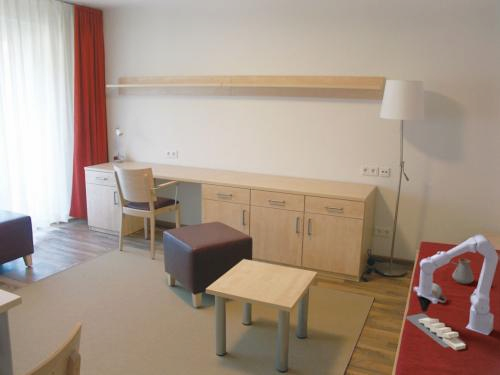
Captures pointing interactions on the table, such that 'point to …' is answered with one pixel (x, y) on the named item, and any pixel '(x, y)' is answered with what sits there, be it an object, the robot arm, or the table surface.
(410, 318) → the mat
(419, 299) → the robot arm
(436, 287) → the ceramic mug
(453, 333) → the domino
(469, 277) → the coffee pot
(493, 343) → the table surface
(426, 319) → the domino
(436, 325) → the domino
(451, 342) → the domino
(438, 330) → the domino
